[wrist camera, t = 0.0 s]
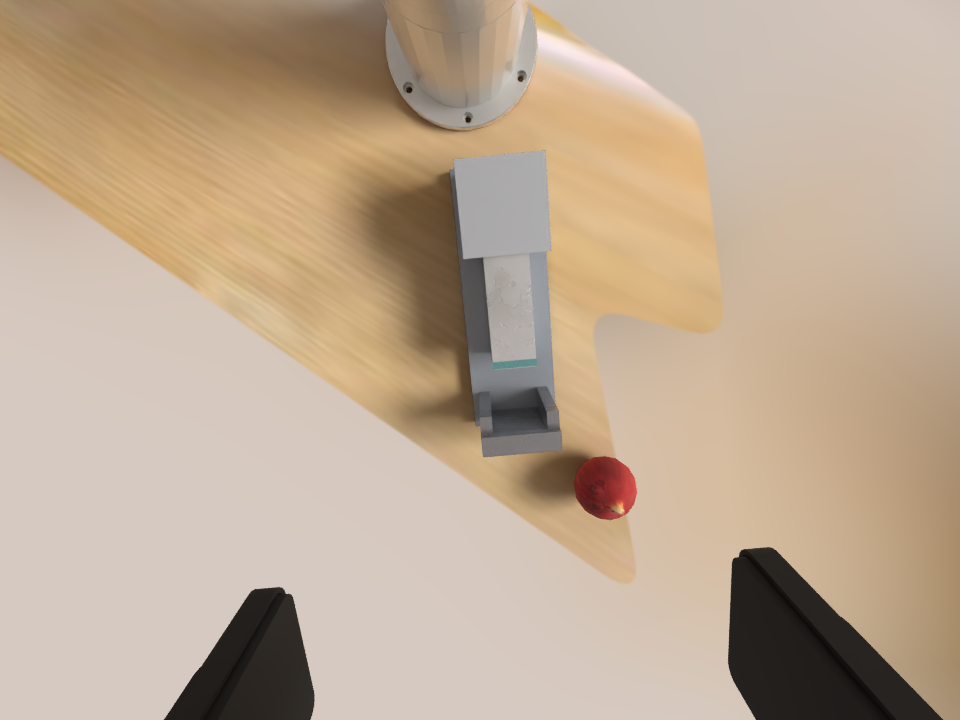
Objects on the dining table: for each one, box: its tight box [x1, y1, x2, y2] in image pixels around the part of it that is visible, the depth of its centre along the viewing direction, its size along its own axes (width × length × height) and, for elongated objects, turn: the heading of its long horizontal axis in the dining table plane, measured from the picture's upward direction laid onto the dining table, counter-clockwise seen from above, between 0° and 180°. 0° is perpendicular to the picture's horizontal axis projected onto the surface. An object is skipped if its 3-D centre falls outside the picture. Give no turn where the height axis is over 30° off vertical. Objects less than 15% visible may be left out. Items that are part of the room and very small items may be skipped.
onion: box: [574, 456, 637, 520], centre depth 45 cm, size 6×6×8 cm
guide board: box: [450, 150, 555, 426], centre depth 41 cm, size 24×8×9 cm, turn 5°
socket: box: [480, 386, 562, 457], centre depth 42 cm, size 3×7×8 cm, turn 95°
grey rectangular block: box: [483, 253, 537, 370], centre depth 40 cm, size 16×4×6 cm, turn 5°
